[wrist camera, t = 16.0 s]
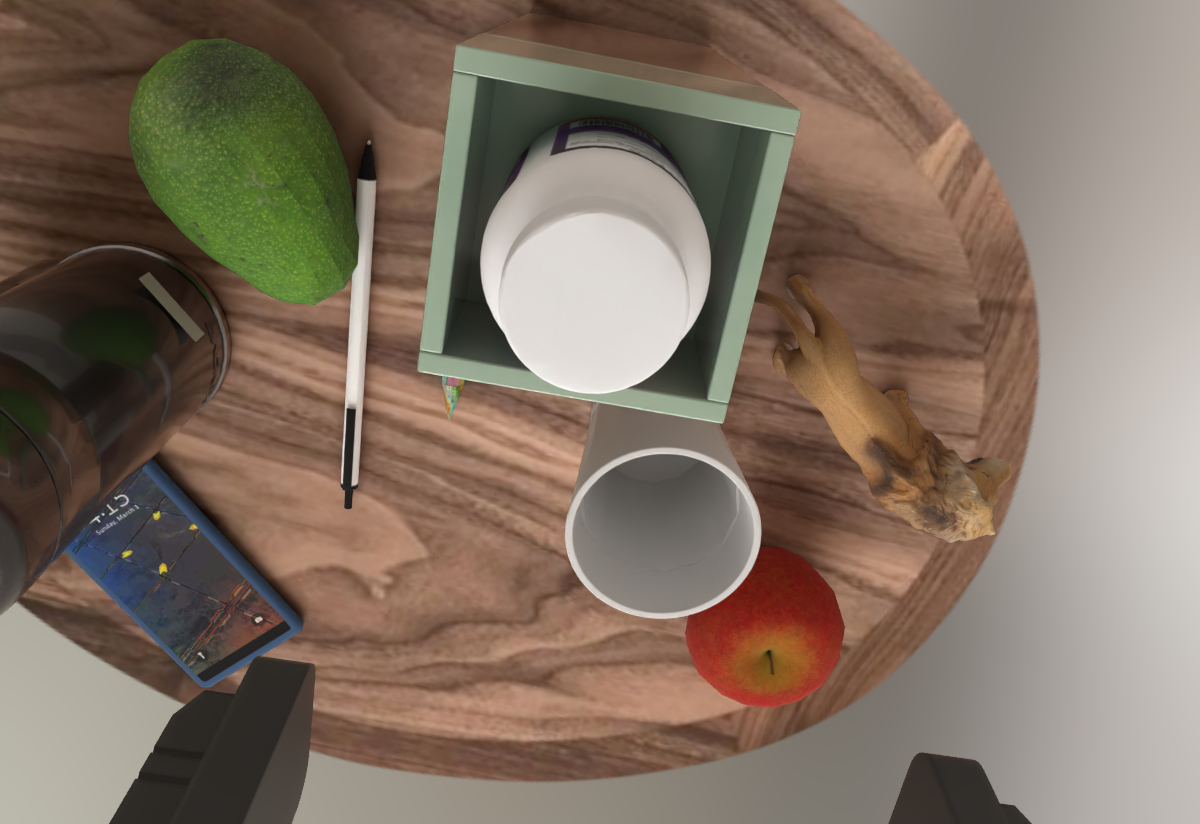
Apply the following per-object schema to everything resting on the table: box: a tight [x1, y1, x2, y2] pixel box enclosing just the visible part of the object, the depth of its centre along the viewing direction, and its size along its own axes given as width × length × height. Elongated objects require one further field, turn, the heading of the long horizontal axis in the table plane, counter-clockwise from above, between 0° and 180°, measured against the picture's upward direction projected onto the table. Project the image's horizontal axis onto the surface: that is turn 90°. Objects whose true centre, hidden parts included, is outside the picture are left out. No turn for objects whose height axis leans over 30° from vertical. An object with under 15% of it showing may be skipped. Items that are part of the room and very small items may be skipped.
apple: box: [685, 547, 845, 708], centre depth 53 cm, size 8×8×8 cm
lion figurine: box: [754, 274, 1012, 543], centre depth 48 cm, size 15×5×9 cm, turn 51°
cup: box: [565, 402, 761, 618], centre depth 48 cm, size 8×8×12 cm
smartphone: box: [64, 458, 303, 687], centre depth 56 cm, size 8×1×15 cm
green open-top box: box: [417, 12, 801, 423], centre depth 36 cm, size 8×8×24 cm
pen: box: [341, 140, 377, 509], centre depth 51 cm, size 1×19×1 cm, turn 172°
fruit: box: [128, 38, 359, 305], centre depth 45 cm, size 8×8×12 cm
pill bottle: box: [480, 116, 711, 394], centre depth 26 cm, size 5×5×10 cm
